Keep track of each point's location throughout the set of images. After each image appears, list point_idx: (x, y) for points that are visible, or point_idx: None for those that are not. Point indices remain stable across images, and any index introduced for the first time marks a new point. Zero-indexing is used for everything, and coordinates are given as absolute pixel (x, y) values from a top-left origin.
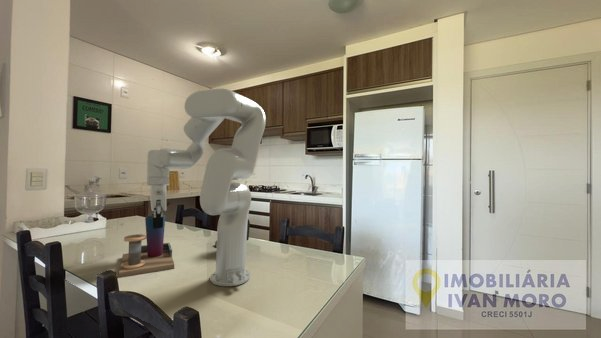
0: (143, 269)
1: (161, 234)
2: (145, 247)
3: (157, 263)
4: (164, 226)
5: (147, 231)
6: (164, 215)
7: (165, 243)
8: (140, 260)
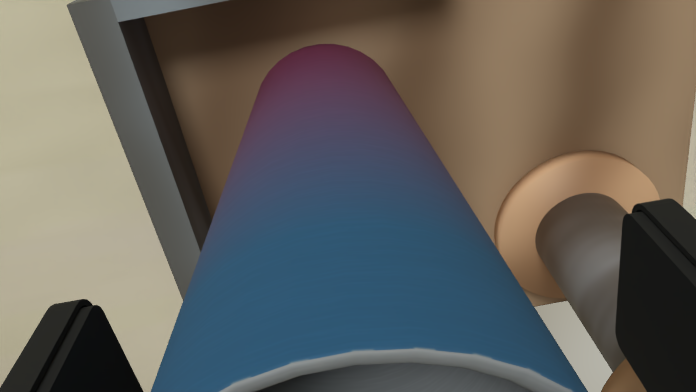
0: (685, 140)
1: (430, 153)
2: (201, 244)
3: (605, 50)
4: (354, 181)
5: (434, 365)
6: (276, 381)
7: (107, 56)
8: (603, 203)
